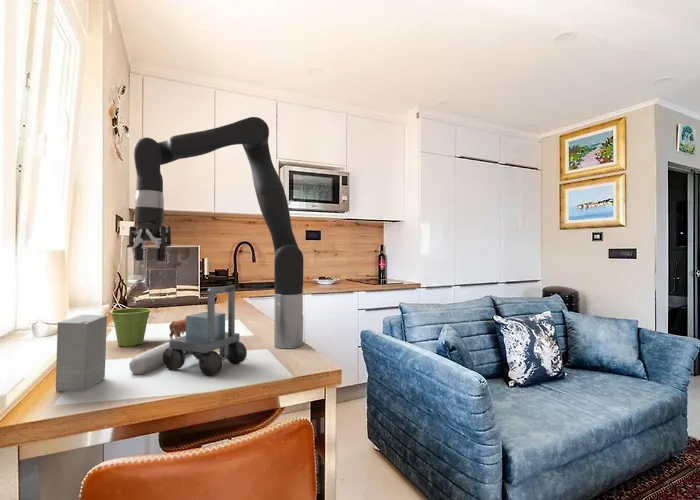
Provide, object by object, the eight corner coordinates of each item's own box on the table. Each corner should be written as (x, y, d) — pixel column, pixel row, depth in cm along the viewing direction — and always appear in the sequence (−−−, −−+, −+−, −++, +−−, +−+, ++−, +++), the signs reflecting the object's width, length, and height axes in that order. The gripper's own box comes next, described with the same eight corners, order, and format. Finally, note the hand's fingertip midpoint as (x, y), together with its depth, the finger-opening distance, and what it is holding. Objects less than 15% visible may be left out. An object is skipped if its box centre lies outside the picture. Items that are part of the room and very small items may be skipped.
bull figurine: (207, 336, 132) (207, 313, 132) (172, 344, 120) (172, 319, 120) (200, 334, 134) (200, 312, 134) (165, 342, 123) (165, 318, 123)
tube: (146, 361, 90) (200, 336, 115) (127, 353, 91) (185, 330, 116) (140, 381, 91) (195, 352, 115) (121, 373, 91) (180, 346, 116)
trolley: (197, 356, 107) (197, 282, 107) (248, 363, 101) (248, 285, 101) (160, 369, 95) (160, 286, 95) (216, 378, 89) (216, 290, 89)
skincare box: (78, 379, 88) (78, 314, 88) (109, 378, 89) (109, 313, 89) (52, 393, 80) (52, 321, 80) (87, 392, 80) (87, 320, 80)
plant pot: (156, 344, 120) (157, 310, 120) (115, 351, 112) (115, 314, 112) (144, 337, 128) (144, 306, 128) (105, 344, 120) (105, 310, 120)
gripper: (177, 207, 110) (177, 260, 110) (143, 208, 115) (143, 260, 115) (157, 204, 103) (156, 261, 103) (121, 206, 108) (120, 260, 108)
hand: (149, 260), depth 109 cm, fingers open, 8 cm apart
